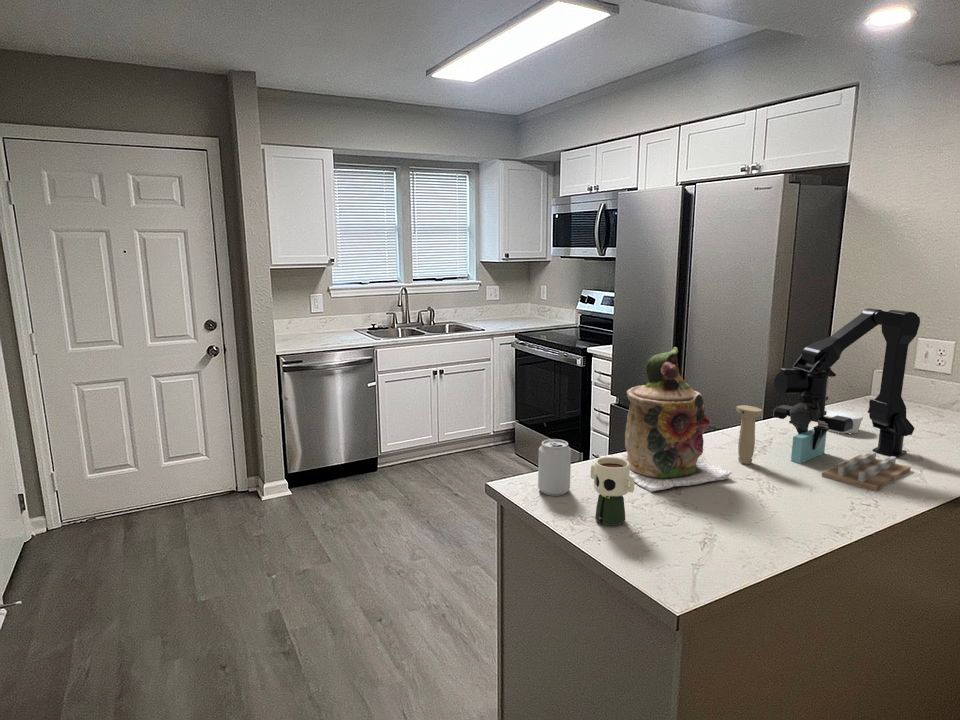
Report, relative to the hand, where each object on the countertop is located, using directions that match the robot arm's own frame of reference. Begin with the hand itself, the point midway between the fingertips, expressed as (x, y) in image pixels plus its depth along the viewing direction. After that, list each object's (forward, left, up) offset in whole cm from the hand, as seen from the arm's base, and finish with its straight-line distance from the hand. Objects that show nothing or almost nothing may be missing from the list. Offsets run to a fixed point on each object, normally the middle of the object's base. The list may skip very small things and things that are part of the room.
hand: (808, 448), depth 166 cm
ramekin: (-34, -6, -3) cm, 35 cm away
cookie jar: (+40, -18, -3) cm, 44 cm away
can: (+72, -25, -3) cm, 76 cm away
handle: (+18, -8, -3) cm, 20 cm away
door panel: (0, 0, -3) cm, 3 cm away
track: (+1, +15, -2) cm, 15 cm away
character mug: (+74, -6, -3) cm, 74 cm away
